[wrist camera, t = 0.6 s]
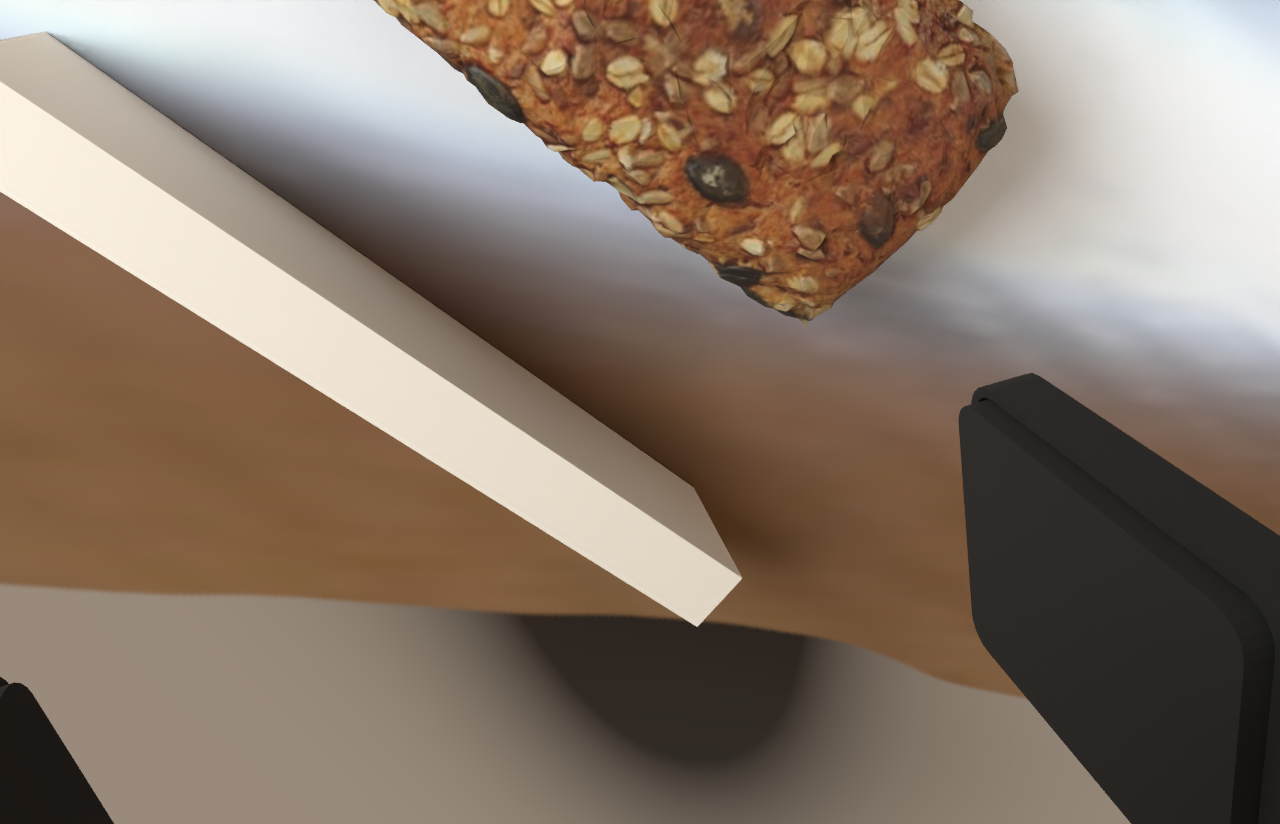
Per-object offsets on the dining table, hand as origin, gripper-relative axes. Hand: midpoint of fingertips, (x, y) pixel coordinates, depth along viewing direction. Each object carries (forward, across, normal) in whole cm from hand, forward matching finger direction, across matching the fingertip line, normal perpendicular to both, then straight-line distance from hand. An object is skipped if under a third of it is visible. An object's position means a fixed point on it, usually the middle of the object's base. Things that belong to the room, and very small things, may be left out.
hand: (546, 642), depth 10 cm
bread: (+28, -8, -3) cm, 30 cm away
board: (+28, +4, +5) cm, 29 cm away
